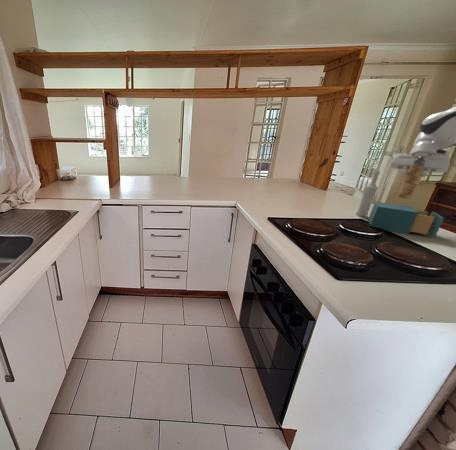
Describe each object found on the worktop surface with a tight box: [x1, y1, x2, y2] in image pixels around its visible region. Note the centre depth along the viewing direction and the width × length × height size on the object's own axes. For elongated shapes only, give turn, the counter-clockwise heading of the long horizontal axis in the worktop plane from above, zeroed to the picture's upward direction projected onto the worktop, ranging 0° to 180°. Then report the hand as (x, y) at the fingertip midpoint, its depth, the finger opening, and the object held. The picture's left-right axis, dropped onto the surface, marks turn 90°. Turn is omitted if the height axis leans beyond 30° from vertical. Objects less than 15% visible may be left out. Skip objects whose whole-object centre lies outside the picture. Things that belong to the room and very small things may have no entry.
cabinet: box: [367, 201, 418, 235], centre depth 115 cm, size 14×14×11 cm
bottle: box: [355, 170, 381, 217], centre depth 130 cm, size 5×5×25 cm
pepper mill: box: [397, 156, 426, 200], centre depth 117 cm, size 5×5×21 cm
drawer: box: [409, 209, 445, 238], centre depth 110 cm, size 14×12×9 cm
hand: (413, 175), depth 117 cm, fingers closed on pepper mill, 5 cm apart
